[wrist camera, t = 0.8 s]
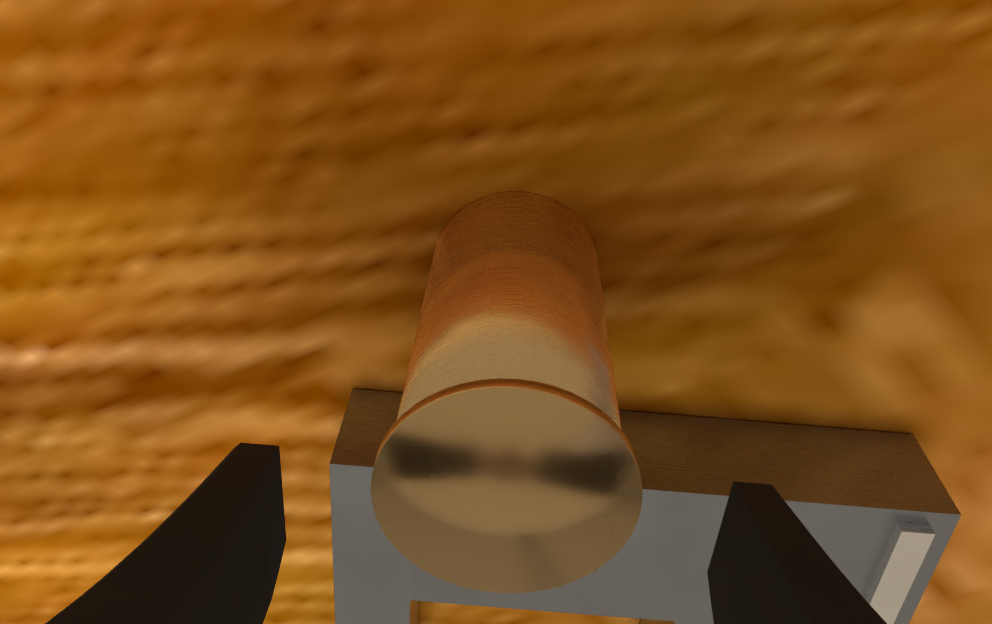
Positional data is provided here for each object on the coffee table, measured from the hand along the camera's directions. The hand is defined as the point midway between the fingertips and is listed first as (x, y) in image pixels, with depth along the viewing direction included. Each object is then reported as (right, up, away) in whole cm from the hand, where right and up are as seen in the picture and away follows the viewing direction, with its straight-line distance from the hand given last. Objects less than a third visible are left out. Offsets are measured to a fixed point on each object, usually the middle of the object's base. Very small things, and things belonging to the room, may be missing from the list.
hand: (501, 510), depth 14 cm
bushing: (0, +4, +7) cm, 8 cm away
